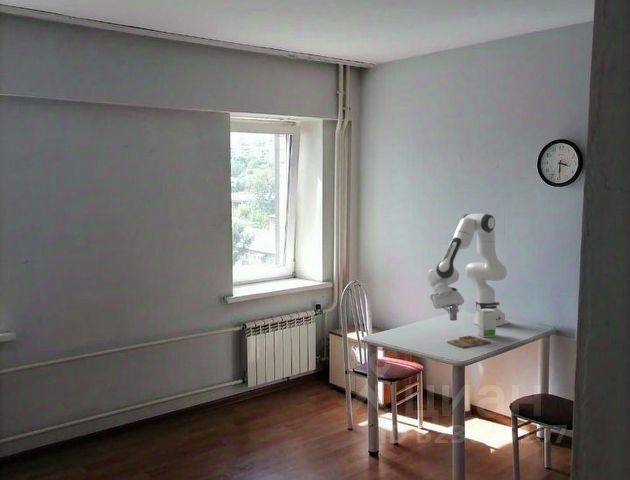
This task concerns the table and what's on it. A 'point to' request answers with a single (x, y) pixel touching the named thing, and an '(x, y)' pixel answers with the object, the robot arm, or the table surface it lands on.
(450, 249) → the robot arm
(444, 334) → the table surface
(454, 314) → the cylinder
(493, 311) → the skincare box
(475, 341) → the collar board
